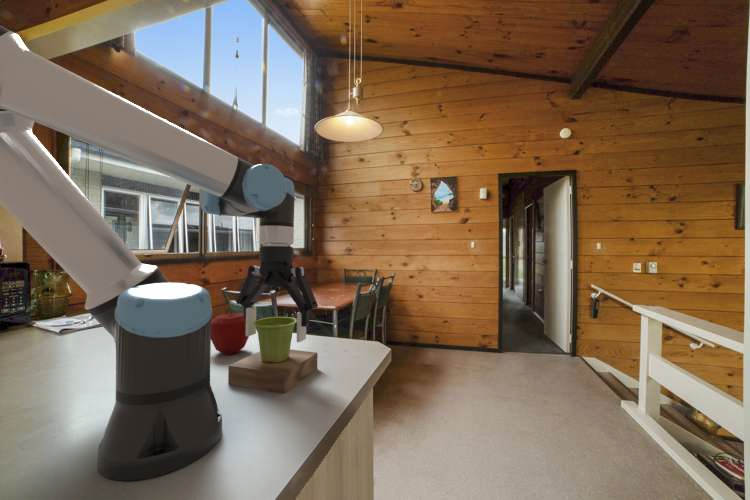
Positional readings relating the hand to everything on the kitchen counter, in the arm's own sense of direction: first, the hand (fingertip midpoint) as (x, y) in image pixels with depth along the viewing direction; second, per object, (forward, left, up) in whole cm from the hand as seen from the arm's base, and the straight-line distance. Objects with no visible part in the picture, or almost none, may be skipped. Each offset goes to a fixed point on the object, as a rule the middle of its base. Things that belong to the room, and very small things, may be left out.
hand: (275, 337), depth 72 cm
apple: (+10, +22, -9) cm, 26 cm away
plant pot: (0, 0, -5) cm, 5 cm away
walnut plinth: (0, 0, -9) cm, 9 cm away
